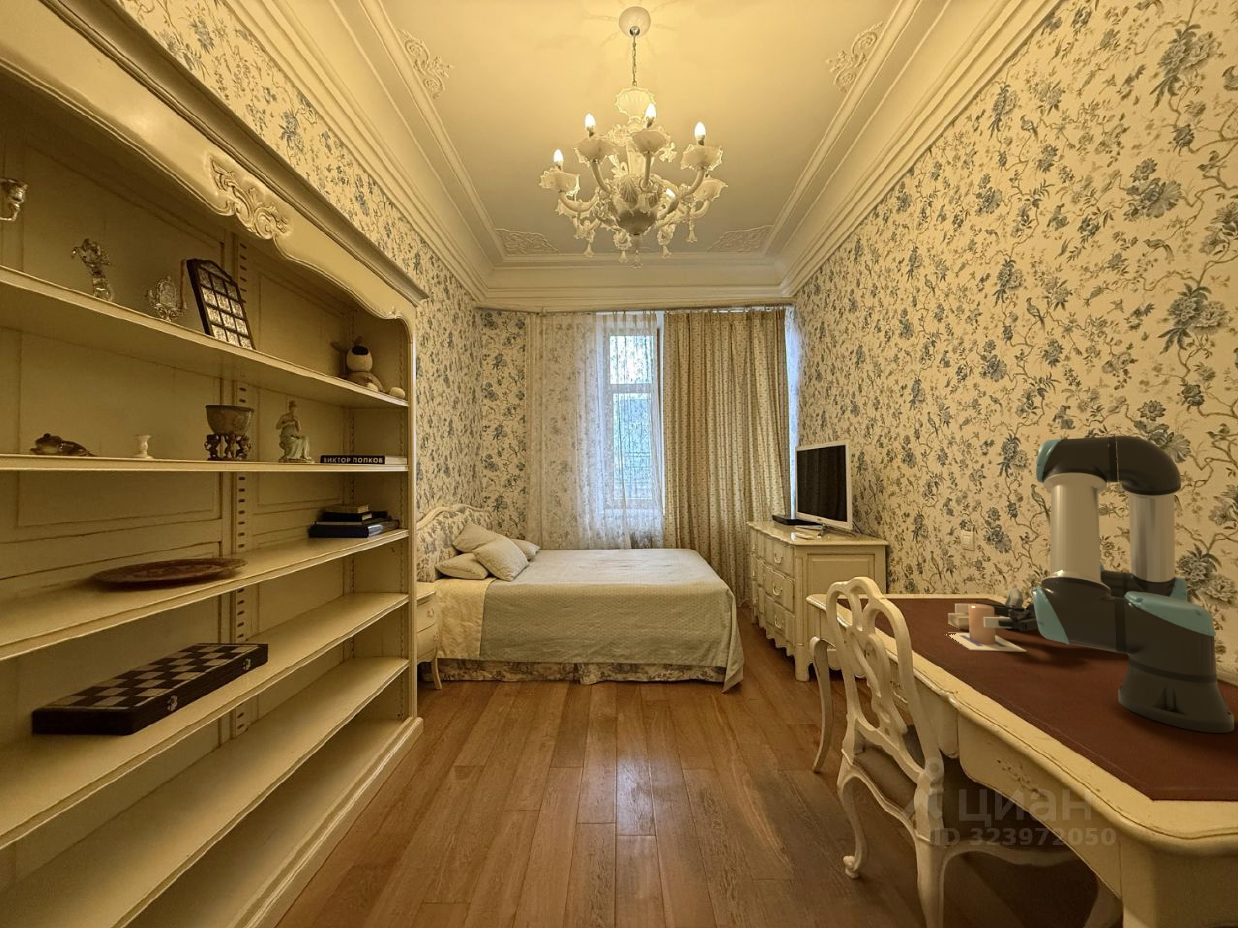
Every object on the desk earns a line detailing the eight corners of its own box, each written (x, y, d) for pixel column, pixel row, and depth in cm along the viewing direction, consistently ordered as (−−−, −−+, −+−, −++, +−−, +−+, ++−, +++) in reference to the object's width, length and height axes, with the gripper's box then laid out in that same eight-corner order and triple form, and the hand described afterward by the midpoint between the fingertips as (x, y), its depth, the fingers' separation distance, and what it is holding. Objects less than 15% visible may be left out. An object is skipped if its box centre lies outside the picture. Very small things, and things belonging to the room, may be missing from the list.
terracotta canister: (1000, 644, 133) (999, 609, 133) (977, 644, 133) (976, 609, 134) (986, 637, 139) (985, 603, 139) (965, 637, 139) (963, 603, 140)
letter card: (1026, 651, 128) (1026, 650, 128) (971, 650, 130) (971, 649, 130) (992, 634, 142) (992, 633, 142) (942, 633, 144) (942, 632, 144)
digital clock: (1001, 616, 160) (1000, 585, 160) (1036, 622, 153) (1034, 589, 153) (990, 627, 149) (988, 593, 149) (1027, 633, 142) (1025, 598, 142)
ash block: (975, 630, 146) (974, 617, 146) (959, 630, 146) (958, 617, 147) (964, 625, 151) (963, 613, 151) (948, 625, 151) (948, 613, 152)
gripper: (1087, 645, 121) (998, 642, 124) (1018, 616, 146) (945, 615, 149) (1086, 616, 122) (997, 614, 124) (1017, 592, 146) (944, 591, 149)
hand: (969, 614), depth 137 cm, fingers open, 13 cm apart
